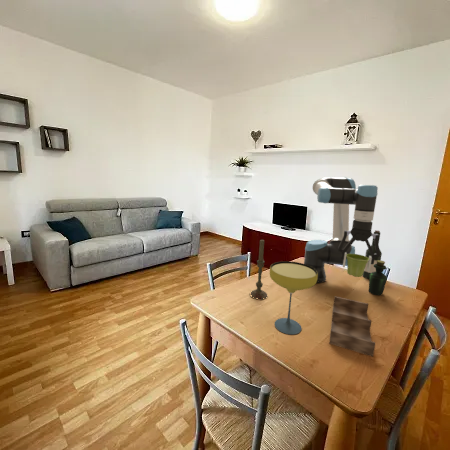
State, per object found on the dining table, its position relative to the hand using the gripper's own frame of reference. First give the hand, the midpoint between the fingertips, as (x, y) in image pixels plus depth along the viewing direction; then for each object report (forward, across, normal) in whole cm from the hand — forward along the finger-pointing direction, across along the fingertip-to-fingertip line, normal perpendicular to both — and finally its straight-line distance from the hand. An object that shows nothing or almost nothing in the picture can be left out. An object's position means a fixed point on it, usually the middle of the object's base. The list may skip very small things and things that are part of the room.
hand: (355, 268), depth 111 cm
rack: (+20, 0, -17) cm, 26 cm away
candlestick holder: (+20, -42, -9) cm, 48 cm away
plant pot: (+3, 0, 0) cm, 3 cm away
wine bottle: (+19, +12, +48) cm, 53 cm away
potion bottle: (+20, +13, +25) cm, 35 cm away
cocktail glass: (+21, -24, -28) cm, 42 cm away
